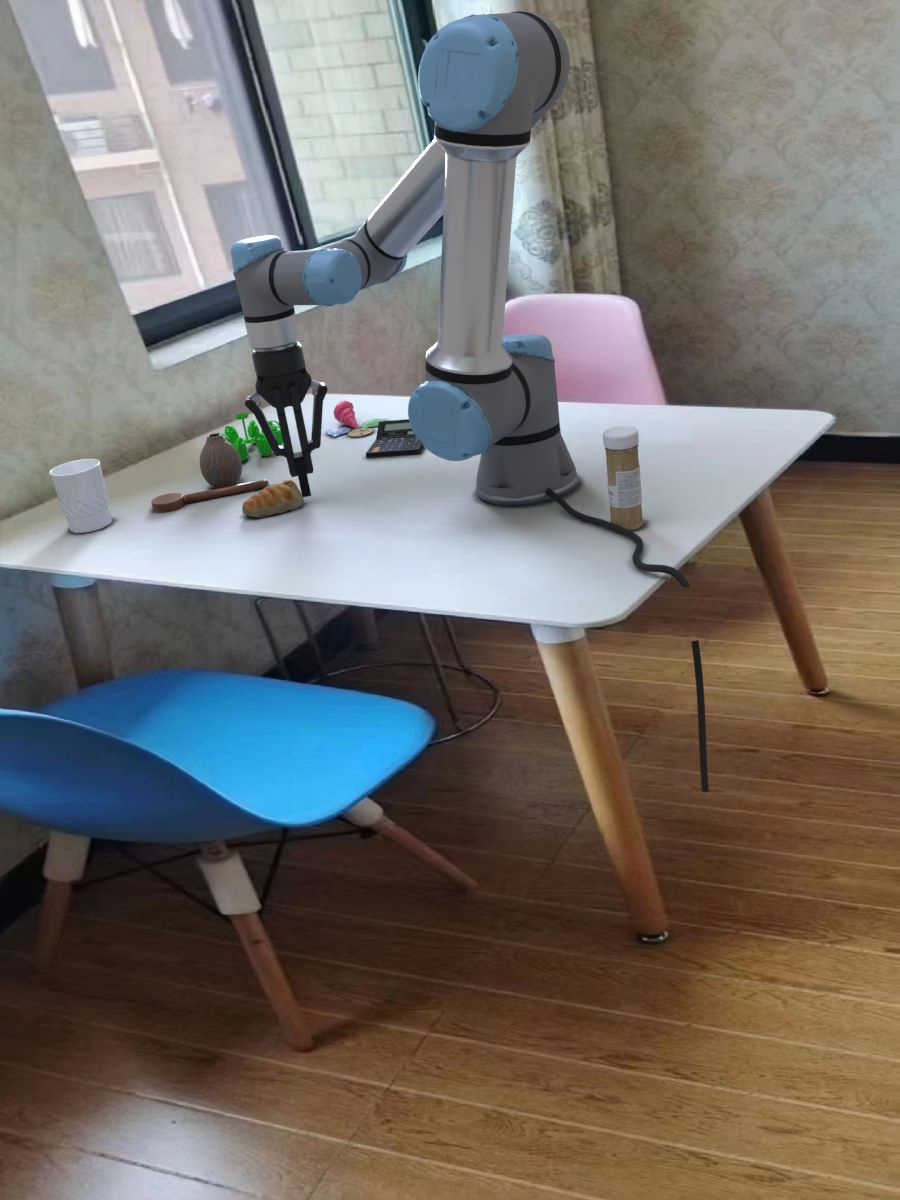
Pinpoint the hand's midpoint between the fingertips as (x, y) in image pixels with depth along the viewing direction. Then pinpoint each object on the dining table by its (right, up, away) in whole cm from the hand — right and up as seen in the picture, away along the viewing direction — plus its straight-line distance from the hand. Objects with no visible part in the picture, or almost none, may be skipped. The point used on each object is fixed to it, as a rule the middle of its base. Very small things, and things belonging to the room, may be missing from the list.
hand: (306, 493), depth 181 cm
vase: (-16, +3, +15) cm, 22 cm away
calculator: (+14, +10, +22) cm, 28 cm away
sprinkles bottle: (+47, -7, -26) cm, 54 cm away
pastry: (-5, -2, 0) cm, 5 cm away
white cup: (-35, -5, +5) cm, 36 cm away
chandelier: (-14, +11, +31) cm, 36 cm away
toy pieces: (+5, +15, +35) cm, 39 cm away
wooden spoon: (-17, 0, +9) cm, 20 cm away
